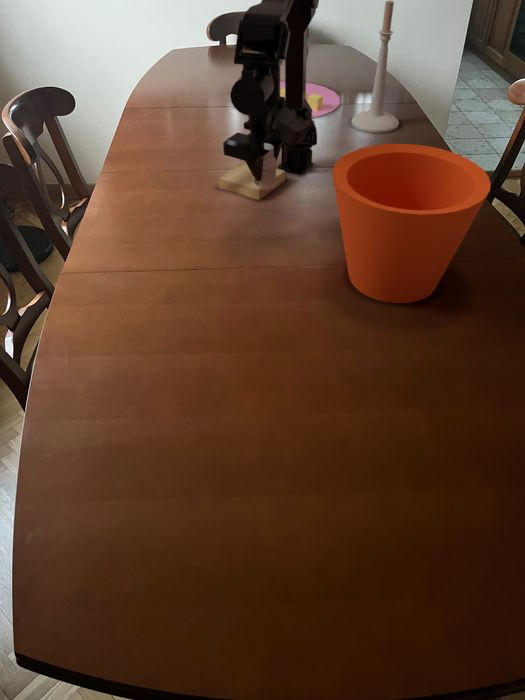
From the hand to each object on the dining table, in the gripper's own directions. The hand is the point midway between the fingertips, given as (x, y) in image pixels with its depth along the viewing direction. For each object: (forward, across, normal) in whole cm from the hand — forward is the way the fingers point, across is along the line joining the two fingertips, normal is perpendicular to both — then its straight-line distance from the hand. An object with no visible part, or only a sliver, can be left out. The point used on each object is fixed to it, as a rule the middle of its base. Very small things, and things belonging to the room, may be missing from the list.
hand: (264, 175), depth 114 cm
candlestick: (+13, +62, +3) cm, 64 cm away
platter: (+13, +66, +33) cm, 75 cm away
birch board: (+12, +14, +12) cm, 22 cm away
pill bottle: (+2, 0, 0) cm, 2 cm away
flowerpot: (+11, -3, -29) cm, 32 cm away
